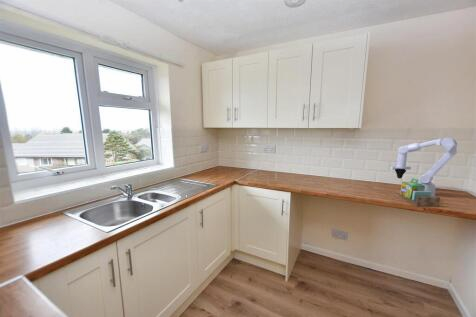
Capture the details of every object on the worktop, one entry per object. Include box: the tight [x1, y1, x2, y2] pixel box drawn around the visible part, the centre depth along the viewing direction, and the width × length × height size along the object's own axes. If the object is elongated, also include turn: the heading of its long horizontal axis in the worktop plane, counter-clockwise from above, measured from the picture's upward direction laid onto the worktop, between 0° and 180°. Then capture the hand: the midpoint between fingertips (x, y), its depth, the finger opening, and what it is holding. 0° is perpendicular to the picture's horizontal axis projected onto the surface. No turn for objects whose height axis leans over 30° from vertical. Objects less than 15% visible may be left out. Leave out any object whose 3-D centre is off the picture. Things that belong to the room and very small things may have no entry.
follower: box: [412, 191, 432, 201], centre depth 136 cm, size 11×2×8 cm, turn 90°
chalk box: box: [399, 177, 425, 199], centre depth 143 cm, size 9×9×15 cm
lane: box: [394, 192, 441, 207], centre depth 140 cm, size 14×19×6 cm
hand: (399, 178), depth 163 cm, fingers closed
